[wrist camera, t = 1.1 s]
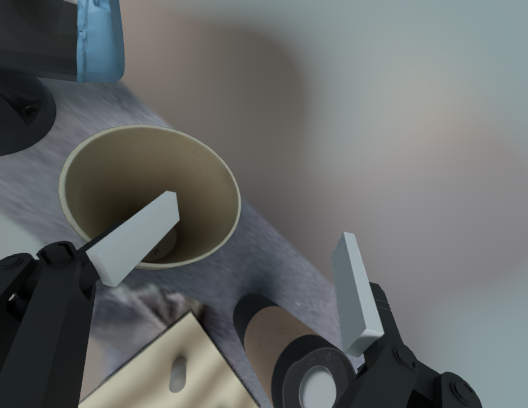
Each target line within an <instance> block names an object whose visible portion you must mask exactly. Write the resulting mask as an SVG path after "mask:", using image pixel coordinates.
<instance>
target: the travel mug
mask: <svg viewBox="0 0 528 408" xmlns="http://www.w3.org/2000/svg"><path fill="white" fill-rule="evenodd" d="M233 322H234V326H235V329H236V332H237V334H238V336H239V339H240V341H241V343H242V346H243V348H244V351H245V353H246V355H247V357H248V359H249V361H250V363H251V365H252V367H253V369H254V371H255V373H256V375H257V377H258V379H259V381H260V383H261V385H262V387H263V389H264V391H265V393H266V395H267V396H268V398H269V400H270V402H271V404H272V406H273V408H335V407H336V405H337V404H338V402H339V400H340V399H341V397H342V396H343V394H344V393H345V391H346V390H347V388H348V387H349V385H350V383H351V382H352V380H353V379H354V377H355V376H356V373H355V370H354V368H353V366H352V364H351V362H350V360H349V359H348V358H347V356H346V355H345V354H344V353H343V352H342V351H341V350H339V349H338V348H337V347H335V346H334V345H333V344H331V343H330V342H328V341H327V340H326V339H324V338H323V337H322V336H320V335H319V334H318V333H316V332H315V331H313V330H312V329H311V328H309V327H308V326H307V325H305V324H304V323H303V322H301V321H300V320H299V319H297V318H296V317H294V316H293V315H292V314H290V313H289V312H288V311H286V310H285V309H283V308H282V307H280V306H279V305H277V304H275V303H274V302H272V301H271V300H269V299H267V298H266V297H264V296H262V295H259V294H250V295H247V296H245V297H244V298H242V299H241V300H240V301H239V303H238V304H237V306H236V308H235V311H234V315H233Z"/></svg>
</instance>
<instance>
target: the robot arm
mask: <svg viewBox="0 0 528 408" xmlns="http://www.w3.org/2000/svg"><path fill="white" fill-rule="evenodd" d="M124 59H125V58H124V42H123V31H122V22H121V13H120V6H119V0H0V155H6V154H10V153H13V152H17V151H20V150H22V149H25V148H27V147H29V146H31V145H32V144H34V143H36V142H37V141H39V140H40V139H41V138H42V137H43V136H44V135H45V134H46V133H47V132H48V131H49V129H50V128H51V126H52V124H53V122H54V119H55V111H56V110H55V103H54V100H53V97H52V95H51V94H50V92H49V90H48V89H47V88H46V87H45V86H44V84H43V83H42V82H41V81H40V80H39V79H38V78H37V77H43V78H51V79H59V80H67V81H75V82H78V83H84V82H100V83H113V82H116V81H118V80H119V79H121V78H122V76H123V74H124V66H125V65H124V64H125V63H124V62H125V60H124ZM178 221H179V212H178V205H177V197H176V193H175V192H170V191H166V192H164V193H163V194H162V195H160V196H159V197H158V198H156V199H155V200H154V201H152V202H151V203H150V204H148V205H147V206H146V207H144V208H143V209H142V210H140V211H139V212H138V213H137V214H135V215H134V216H133V217H131V218H130V219H129V220H127V221H124V220H122V221H120V222H118V223H115V224H113V225H112V226H111V227H109V228H108V229H106V231H104V232H102V233H101V234H100V235H98V236H97V237H95V238H94V239H92V240H91V241H90V242H88V243H87V244H86V245H84V246H83V247H81V248H80V249H79V250H76V249H75V247H74V245H73V244H72V243H71V242H68V241H59V242H55V243H52V244H49V245H47V246H45V247H44V248H42V249H41V250H39V251H38V253H37V254H36V255H37V256H38V258H39V259H40V260H35V259H34V258H33V257H32V255H31V254H28V253H19V254H14V255H11V256H8V257H6V258H4V259H2V260H0V408H78V405H79V399H80V391H81V385H82V379H83V371H84V365H85V359H86V352H87V345H88V339H89V332H90V325H91V319H92V312H93V306H94V299H95V292H96V283H95V282H96V281H97V280H98V279H99V278H100V279H101V281H102V283H103V284H104V285H108V286H111V287H116V286H117V285H118V284H119V283H120V282H121V281H122V280H123V279H124V278H125V277H126V276H127V275H128V274H129V273H130V272H131V271H132V269H133V268H134V267H135V266H136V265H137V264H138V263H139V262H140V261H141V260H142V259H143V258H144V257H145V256H146V255H147V254H148V253H149V252H150V251H151V249H152V248H153V247H154V246H155V245H156V244H157V243H158V242H159V241H160V240H161V239H162V238H163V237H164V236H165V235H166V234H167V233H168V232H169V230H170V229H171V228H172V227H173V226H174V225H175V224H176V223H177V222H178ZM331 261H332V269H333V276H334V284H335V292H336V300H337V307H338V315H339V323H340V330H341V338H342V346H343V353H345V354H348V355H351V356H355V357H360V356H361V355H362V354H363V353H364V358H365V363H364V364H362V365H361V366H360V367H359V368H358V369H357V370H358V373H357V374H356V376H355V377H354V379H353V380H352V382H351V383H350V385H349V387H348V388H347V390H346V391H345V393H344V394H343V396H342V397H341V399H340V400H339V402H338V404H337V405H336V407H335V408H482V405H481V402H480V400H479V398H478V396H477V395H476V393H475V391H474V390H473V389H472V388H471V387H470V386H469V384H468V383H467V382H466V381H464V380H463V379H462V378H461V377H460V376H458V375H456V374H454V373H451V372H444V373H443V374H439V373H438V372H436V371H434V370H433V369H431V368H429V367H428V366H426V365H424V364H423V363H421V362H420V361H418V360H417V359H416V357H415V355H414V354H413V352H412V351H411V350H410V349H409V348H408V347H407V346H406V345H404V344H403V342H402V339H401V337H400V334H399V331H398V328H397V326H396V323H395V320H394V317H393V315H392V312H391V311H390V310H391V309H390V307H389V304H388V301H387V298H386V296H385V293H384V292H383V290H382V289H381V287H380V286H379V285H378V284H375V283H371V282H369V281H368V278H367V275H366V272H365V268H364V265H363V262H362V259H361V255H360V252H359V248H358V245H357V242H356V239H355V236H354V234H351V233H347V232H343V234H342V236H341V238H340V240H339V242H338V244H337V246H336V248H335V250H334V252H333V254H332V256H331ZM13 294H14V295H15V296H14V297H13V298H12V299H11V300H10V301H9V299H10V297H11V296H12V295H13Z"/></svg>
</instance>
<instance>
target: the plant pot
mask: <svg viewBox="0 0 528 408" xmlns="http://www.w3.org/2000/svg"><path fill="white" fill-rule="evenodd" d="M166 191H170V192H175V193H176V197H177V205H178V212H179V221H178V222H177V223H176V224H175V225H174V226H173V227H172V228H171V229H170V230H169V232H168V233H167V234H166V235H165V236H164V237H163V238H162V239H161V240H160V241H159V242H158V243H157V244H156V245H155V246H154V247H153V248H152V249H151V251H150V252H149V253H148V254H147V255H146V256H145V257H144V258H143V259H142V260H141V261H140V262H139V263H138V264H137V265H136V266H135V267H134V268H138V269H145V270H160V269H168V268H173V267H178V266H182V265H186V264H189V263H193V262H196V261H198V260H201V259H203V258H205V257H207V256H209V255H211V254H212V253H214V252H215V251H216V250H218V249H219V248H220V247H221V246H223V245H224V244H225V242H226V241H227V240H228V239H229V238H230V236H231V235H232V234H233V232H234V230H235V228H236V226H237V223H238V220H239V217H240V211H241V197H240V192H239V188H238V185H237V182H236V180H235V178H234V176H233V174H232V172H231V171H230V169H229V167H228V166H227V165H226V163H225V162H224V161H223V160H222V159H221V158H220V157H219V156H218V155H217V154H216V153H215V152H214V151H213V150H212V149H210V148H209V147H208V146H206V145H205V144H203V143H202V142H200V141H199V140H197V139H195V138H193V137H191V136H189V135H187V134H185V133H182V132H179V131H176V130H173V129H170V128H166V127H160V126H154V125H135V124H134V125H124V126H118V127H114V128H109V129H106V130H103V131H101V132H99V133H96V134H94V135H93V136H91V137H89V138H87V139H86V140H84V141H83V142H82V143H81V144H79V145H78V146H77V147H76V148H75V149H74V150H73V151H72V152H71V154H70V155H69V156H68V158H67V160H66V161H65V163H64V166H63V168H62V171H61V173H60V178H59V187H58V192H59V199H60V204H61V207H62V210H63V212H64V214H65V217H66V218H67V220H68V222H69V223H70V225H71V226H72V227H73V229H74V230H75V231H76V232H77V233H78V234H79V236H81V237H82V238H83V239H84V240H85V241H86V242H87V243H88V242H90V241H91V240H92V239H94V238H95V237H97V236H98V235H100V234H101V233H102V232H104V231H106V229H108V228H109V227H111V226H112V225H113V224H115V223H118V222H120V221H122V220H124V221H127V220H129V219H130V218H131V217H133V216H134V215H135V214H137V213H138V212H139V211H140V210H142V209H143V208H144V207H146V206H147V205H148V204H150V203H151V202H152V201H154V200H155V199H156V198H158V197H159V196H160V195H162V194H163V193H164V192H166ZM156 250H158V253H156Z"/></svg>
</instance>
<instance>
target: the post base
mask: <svg viewBox="0 0 528 408" xmlns="http://www.w3.org/2000/svg"><path fill="white" fill-rule="evenodd" d="M78 408H260V407H259V406H258V404H257V403H256V402H255V400H254V399H253V397H252V396H251V395H250V393H249V392H248V390H247V389H246V388H245V386H244V385H243V383H242V382H241V381H240V379H239V378H238V376H237V375H236V374H235V372H234V371H233V369H232V368H231V366H230V365H229V364H228V362H227V361H226V359H225V358H224V357H223V355H222V354H221V352H220V351H219V350H218V348H217V347H216V345H215V344H214V343H213V341H212V340H211V338H210V337H209V335H208V334H207V333H206V331H205V330H204V328H203V327H202V326H201V324H200V323H199V321H198V320H197V319H196V317H195V316H194V314H193V313H192V312H191V311H189V312H188V313H187V314H186V315H185V316H183V317H182V318H181V319H180V320H178V321H177V322H176V323H175V324H174V325H172V326H171V327H170V328H169V329H168V330H166V331H165V332H164V333H163V334H161V335H160V336H159V337H158V338H157V339H155V340H154V341H153V342H152V343H151V344H149V345H148V346H147V347H146V348H144V349H143V350H142V351H141V352H140V353H138V354H137V355H136V356H135V357H134V358H132V359H131V360H130V361H129V362H128V363H126V364H125V365H124V366H123V367H121V368H120V369H119V370H118V371H117V372H115V373H114V374H113V375H112V376H111V377H109V378H108V379H107V380H106V381H104V382H103V383H102V384H101V385H100V386H98V387H97V388H96V389H95V390H94V391H92V392H91V393H90V394H89V395H88V396H86V397H85V398H84V399H83V400H81V401H80V402H79V405H78Z"/></svg>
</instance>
